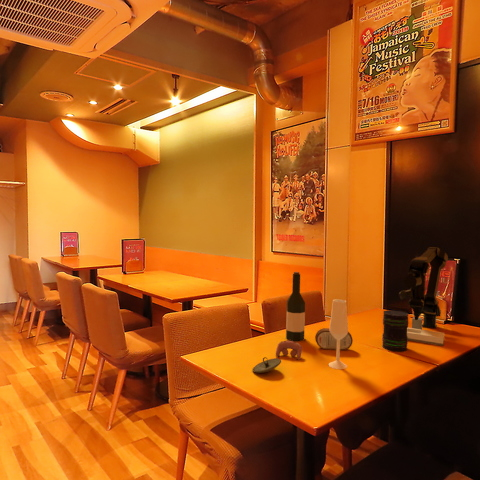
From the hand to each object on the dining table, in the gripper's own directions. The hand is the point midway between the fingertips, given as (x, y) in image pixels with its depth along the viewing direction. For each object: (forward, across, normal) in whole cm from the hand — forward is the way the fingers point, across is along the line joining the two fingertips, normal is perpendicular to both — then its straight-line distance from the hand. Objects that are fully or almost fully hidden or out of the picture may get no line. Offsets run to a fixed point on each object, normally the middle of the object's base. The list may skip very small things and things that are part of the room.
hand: (417, 317), depth 183 cm
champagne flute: (+7, +63, -19) cm, 66 cm away
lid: (+7, +82, -38) cm, 91 cm away
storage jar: (+7, +30, -5) cm, 32 cm away
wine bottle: (+7, +42, -45) cm, 62 cm away
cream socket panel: (+7, +11, 0) cm, 13 cm away
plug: (+7, 0, 0) cm, 7 cm away
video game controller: (+7, +64, -38) cm, 75 cm away
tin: (+7, +46, -26) cm, 53 cm away
